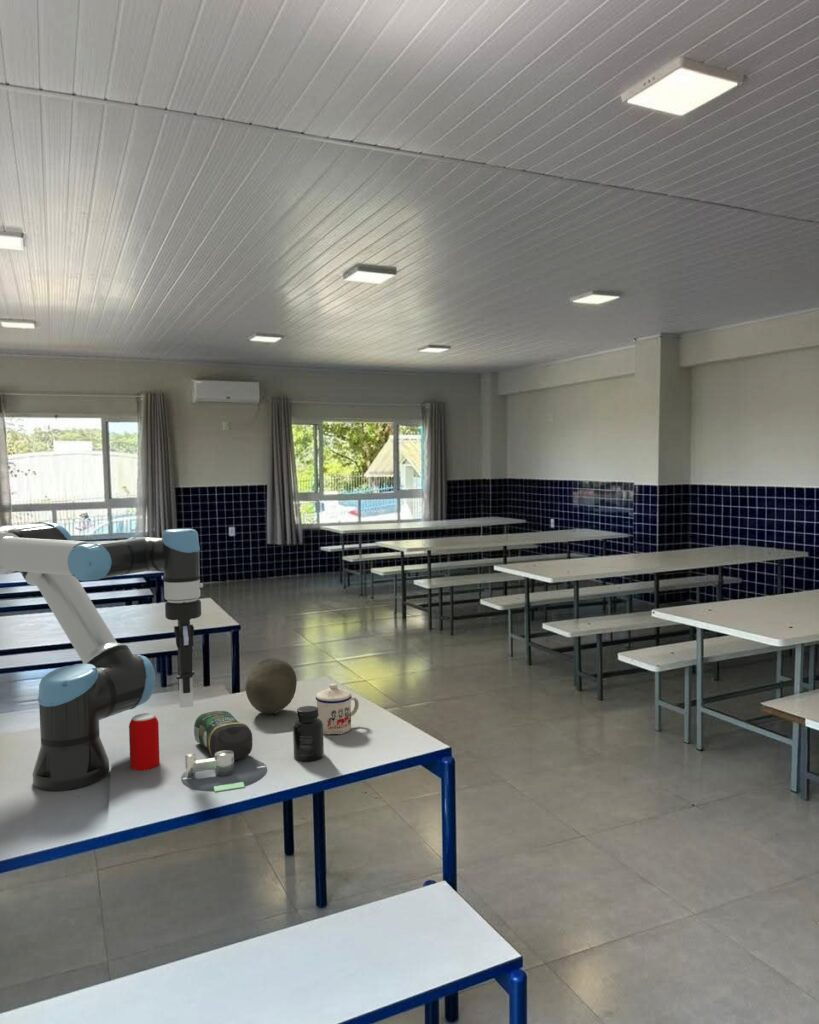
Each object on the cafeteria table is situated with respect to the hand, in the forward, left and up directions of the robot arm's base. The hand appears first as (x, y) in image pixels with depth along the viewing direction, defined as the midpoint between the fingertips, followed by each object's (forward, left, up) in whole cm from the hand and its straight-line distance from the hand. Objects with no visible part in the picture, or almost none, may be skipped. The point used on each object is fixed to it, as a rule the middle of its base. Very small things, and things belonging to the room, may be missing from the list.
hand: (186, 705), depth 162 cm
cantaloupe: (+24, +32, -15) cm, 42 cm away
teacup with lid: (+38, +14, -15) cm, 43 cm away
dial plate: (+7, -7, -15) cm, 18 cm away
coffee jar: (+7, +16, -11) cm, 21 cm away
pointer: (+4, -7, -13) cm, 16 cm away
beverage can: (-9, +5, -15) cm, 18 cm away
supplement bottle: (+26, -4, -15) cm, 30 cm away
